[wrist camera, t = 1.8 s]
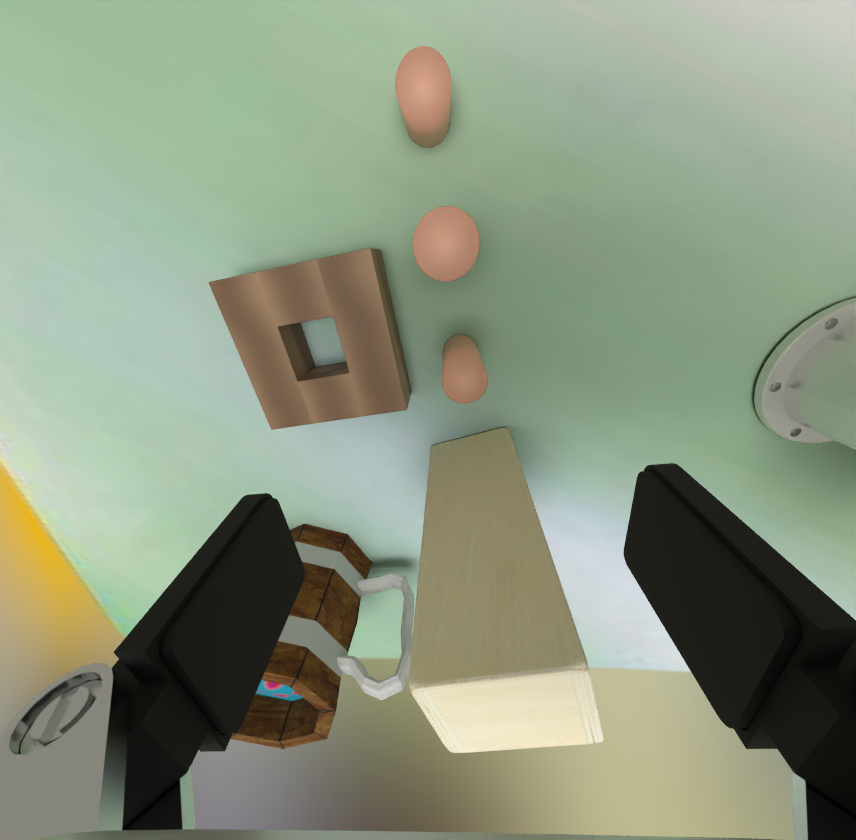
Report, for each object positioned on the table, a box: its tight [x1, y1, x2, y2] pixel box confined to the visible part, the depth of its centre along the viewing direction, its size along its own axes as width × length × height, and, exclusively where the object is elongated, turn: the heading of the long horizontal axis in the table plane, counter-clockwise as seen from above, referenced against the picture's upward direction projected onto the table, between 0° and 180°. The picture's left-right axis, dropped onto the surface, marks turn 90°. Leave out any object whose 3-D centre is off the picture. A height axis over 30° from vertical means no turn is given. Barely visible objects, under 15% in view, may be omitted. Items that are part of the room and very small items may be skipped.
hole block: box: [209, 248, 411, 430], centre depth 27 cm, size 12×12×4 cm
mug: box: [230, 524, 414, 749], centre depth 35 cm, size 20×14×15 cm
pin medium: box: [442, 335, 488, 404], centre depth 26 cm, size 3×3×8 cm
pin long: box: [413, 206, 480, 281], centre depth 20 cm, size 3×3×12 cm
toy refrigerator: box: [409, 428, 604, 753], centre depth 25 cm, size 8×7×21 cm
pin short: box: [395, 46, 451, 148], centre depth 20 cm, size 3×3×5 cm
